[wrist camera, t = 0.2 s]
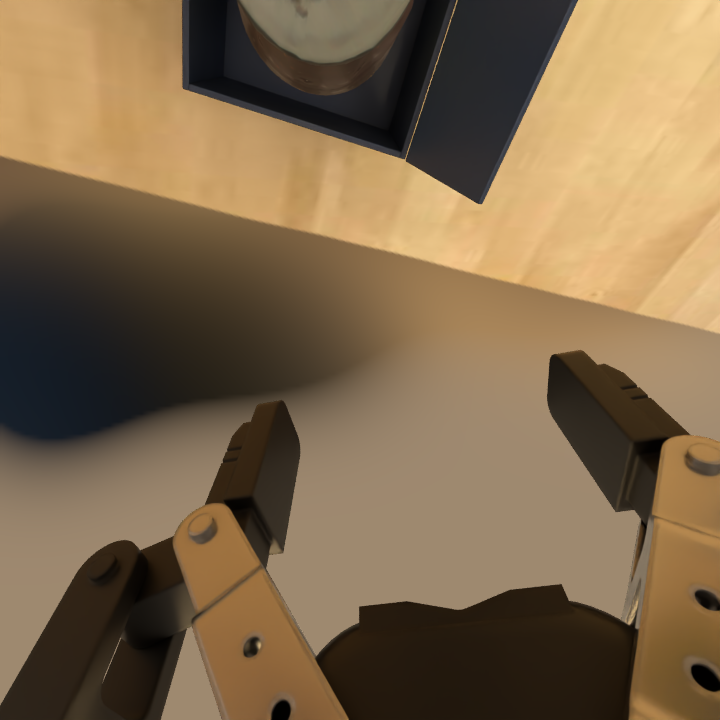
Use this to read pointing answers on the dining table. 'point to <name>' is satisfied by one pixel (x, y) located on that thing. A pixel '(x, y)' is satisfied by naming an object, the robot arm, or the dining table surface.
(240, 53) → the carton
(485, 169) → the flap
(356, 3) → the sauce bottle
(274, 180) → the dining table surface
